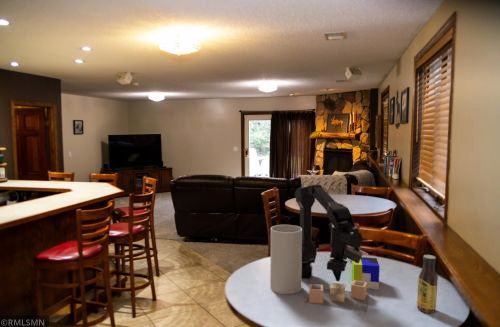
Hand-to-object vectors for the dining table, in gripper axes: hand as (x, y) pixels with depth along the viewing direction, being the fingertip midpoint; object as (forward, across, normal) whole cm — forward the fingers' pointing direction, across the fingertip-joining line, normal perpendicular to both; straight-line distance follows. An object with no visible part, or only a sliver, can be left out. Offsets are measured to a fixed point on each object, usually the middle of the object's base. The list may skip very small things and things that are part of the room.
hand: (338, 280), depth 143 cm
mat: (+7, +1, 0) cm, 7 cm away
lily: (+8, +47, -3) cm, 48 cm away
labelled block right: (+7, +5, -7) cm, 11 cm away
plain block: (+7, 0, 0) cm, 7 cm away
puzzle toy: (+8, +19, -9) cm, 22 cm away
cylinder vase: (+8, +3, +21) cm, 23 cm away
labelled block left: (+7, -4, +8) cm, 11 cm away
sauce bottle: (+8, +2, -31) cm, 32 cm away
